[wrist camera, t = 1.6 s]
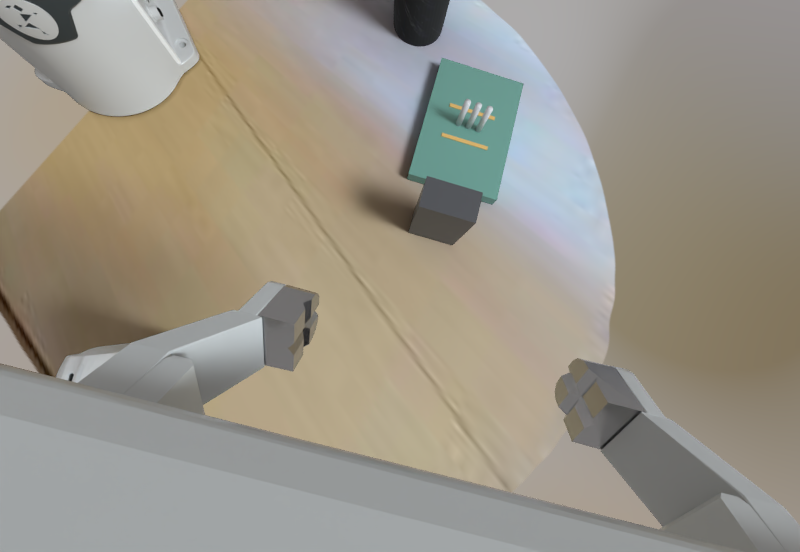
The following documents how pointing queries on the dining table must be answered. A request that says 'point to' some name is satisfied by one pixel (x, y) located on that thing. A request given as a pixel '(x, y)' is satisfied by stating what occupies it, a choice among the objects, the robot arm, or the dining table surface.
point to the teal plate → (467, 129)
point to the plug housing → (445, 211)
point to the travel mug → (419, 20)
